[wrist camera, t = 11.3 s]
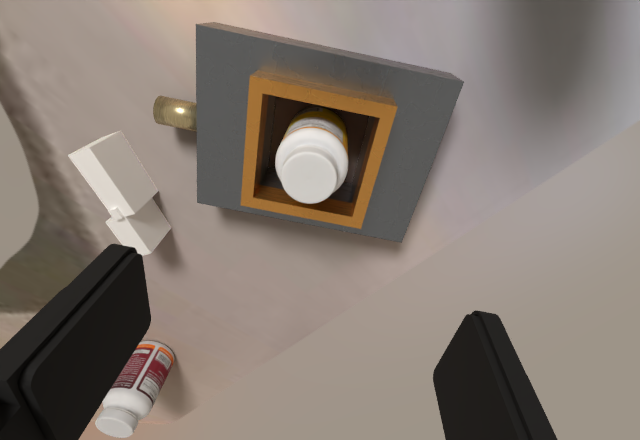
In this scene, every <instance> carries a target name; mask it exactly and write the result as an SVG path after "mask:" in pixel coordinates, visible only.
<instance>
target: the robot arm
mask: <svg viewBox="0 0 640 440" xmlns="http://www.w3.org/2000/svg"><path fill="white" fill-rule="evenodd" d="M150 323H151V314H150V307H149V300H148V293H147V286H146V279H145V272H144V265H143V258H142V255H141V254H138V253H137V250H136V249H135V248H134V247H129V246H123V245H118V244H111V245H109V246H108V247H107V248H106V249H105V250H104V251H103V252H102V253H101V254H100V255H99V256H98V257H97V258H96V259H95V260H94V261H93V262H92V263H91V264H90V265H89V266H88V267H86V268H85V269H84V270H83V271H82V272H81V273H80V274H79V275H78V276H77V277H76V278H75V279H74V280H73V281H72V282H71V283H70V284H69V285H68V286H67V287H65V288H64V289H62V290H61V291H60V292H59V293H58V294H57V295H56V296H55V297H54V298H53V299H52V300H51V301H50V302H48V303H47V304H46V305H45V306H44V307H43V308H42V309H41V310H40V311H39V312H38V313H37V314H36V315H35V316H34V317H33V318H32V319H31V320H30V321H29V322H28V323H27V324H26V325H25V326H24V327H23V328H22V329H21V330H20V331H19V332H18V333H17V334H16V335H15V336H13V337H12V338H11V339H10V340H9V341H8V342H7V343H6V344H5V345H4V346H3V347H2V348H1V349H0V440H78V439H79V438H80V436H81V434H82V433H83V431H84V430H85V428H86V427H87V425H88V423H89V422H90V420H91V419H92V417H93V416H94V414H95V412H96V411H97V409H98V408H99V406H100V405H101V403H102V401H103V400H104V398H105V397H106V395H107V394H108V392H109V390H110V389H111V387H112V386H113V384H114V383H115V381H116V379H117V378H118V376H119V375H120V373H121V372H122V370H123V368H124V367H125V365H126V364H127V362H128V360H129V359H130V357H131V356H132V354H133V353H134V351H135V349H136V348H137V346H138V345H139V343H140V342H141V340H142V338H143V337H144V335H145V334H146V332H147V330H148V328H149V326H150ZM433 382H434V387H435V391H436V396H437V401H438V405H439V410H440V415H441V419H442V424H443V429H444V433H445V438H446V440H557V438H556V435H555V434H554V432H553V429H552V427H551V425H550V423H549V421H548V419H547V416H546V414H545V412H544V410H543V408H542V406H541V404H540V402H539V400H538V398H537V395H536V393H535V391H534V389H533V387H532V385H531V382H530V380H529V378H528V376H527V375H526V373H525V371H524V369H523V366H522V365H521V362H520V360H519V358H518V356H517V354H516V352H515V349H514V347H513V345H512V343H511V341H510V339H509V337H508V335H507V333H506V330H505V328H504V326H503V324H502V322H501V320H500V318H499V317H498V315H496V314H492V313H486V312H481V311H474V312H472V314H471V315H469V314H468V315H466V316H465V318H464V319H463V321H462V323H461V325H460V326H459V328H458V330H457V332H456V333H455V335H454V337H453V338H452V340H451V342H450V344H449V345H448V347H447V349H446V351H445V352H444V354H443V356H442V358H441V359H440V361H439V363H438V364H437V366H436V368H435V370H434V374H433Z"/></svg>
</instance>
